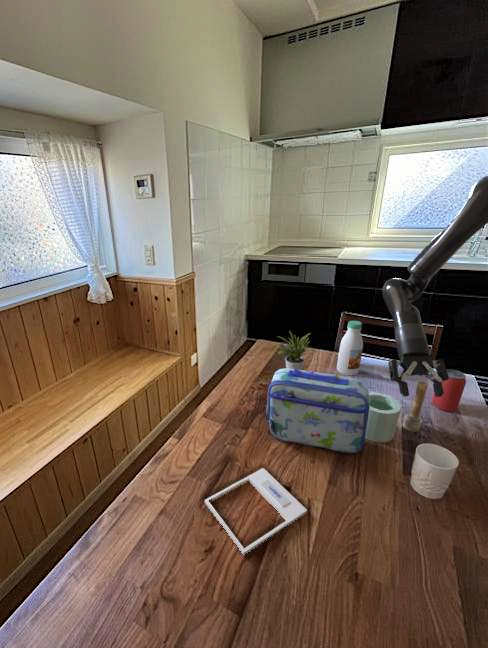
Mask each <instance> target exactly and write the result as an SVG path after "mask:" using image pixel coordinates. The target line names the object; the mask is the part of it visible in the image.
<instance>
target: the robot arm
mask: <svg viewBox="0 0 488 648" xmlns="http://www.w3.org/2000/svg"><path fill="white" fill-rule="evenodd" d="M487 224H488V175H486V176H484V177H482V178H480V179H479V180H478V181H477V182H476V183H475V184H474V185H473V186H472V188H471V190H470V192H469V196H468V199H467V200H466V202H465V203H464V205H463V207H462V208H461V209H460V211H459V212H458V213H457V214H456V216H455V217H454V218H453V219H452V220H451V221H450V223H448V225H446V227H445V228H444V229H443V230H442V231H440V233H439V234H437V235H436V236H435V237H434V238H433V239H432V240H431V241H430V242H429V243H428V244H427V245H426V246H425V247H424V248H423V249H422V250H421V251H420V252H419V253H418V254H417V255H416V256H415V257H414V258H413V260H412V261H411V262H410V263H409V264H408V266H407V272H408V274H410V276H409V278H408V279H407V280H405V279H402V278H396V277H395V278H390V279H387V280H386V281H385V282H384V284H383V286H382V290H381V291H382V293H381V294H382V298H383V301H384V303H385V306H386V308H387V310H388V311H389V313H390V315H391V317H392V323H393V327H394V338H395V339H394V340H395V343H396V349H397V353H398V357H399V360H397V359H396V358H392V359H391V360H390V361H388V371H389V380H390V381H391V382H395V383H397V384H398V388H399V393H400V394H401V395H402V397H409V396H410V391H409V386H408V381H407V379H408V378H409V377H410V376H412V377H413V376H418V377H419V376H420V377H421V376H424V377H425V378H426V379H429V380H430V382H431V383H432V388H433V392H434V393H435V396H436V397H441V396H442V394H444V391H443V387H442V382H443V381H445V380H448V379H449V377H448V373H447V370H446V369H447V367H446V363H445V361H444V359H442V358H440V359H437V360H432V359H431V357H430V356H431V355H430V354H431V352H430V348H429V343H428V340H427V335H426V332H425V329H424V325H423V323H422V318H421V313H420V310H419V309H418V308H417V307H416V306H414V305H412V303H414V302H415V301H417V300H418V299H419V298H420V297H421V296H422V294H423V293H424V291H425V289H426V288H427V287H428V285H429V283H430V281H431V279H432V278H433V277H434V276H435V275H436V274H437V273H438V272H439V271H440V270H441V269H442V268H443V267H444V266H445V264H447V262H449V261H450V260H451V259H452V257H453V256H454V255H456V253H457V252H458V251H459V250H460V249H461V248H462V247H463V246H464V245H465V244H466V243H467V242H468V241H469V240H470V239H471V238H472V237H474V235H476V234H477V233H478V232H479V231H480V230H481V229H482V228H483V227H485V226H486V225H487ZM399 366H400V367H401V369H402V371H401V373H400V375H399V369H398V368H399ZM432 366H433V367H432ZM433 368H434V369H433ZM434 393H433V394H434Z"/></svg>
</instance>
